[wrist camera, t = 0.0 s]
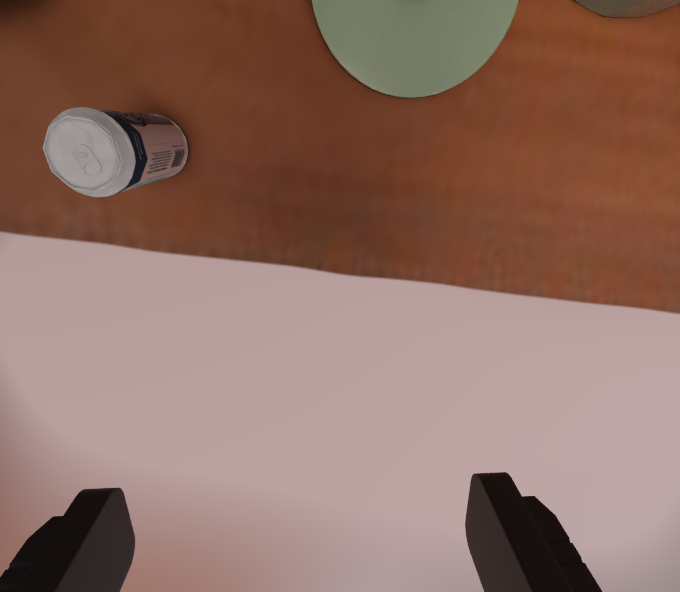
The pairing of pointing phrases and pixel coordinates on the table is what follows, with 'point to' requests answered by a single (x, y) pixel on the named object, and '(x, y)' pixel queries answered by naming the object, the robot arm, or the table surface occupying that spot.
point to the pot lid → (413, 40)
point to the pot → (626, 7)
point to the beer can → (113, 150)
